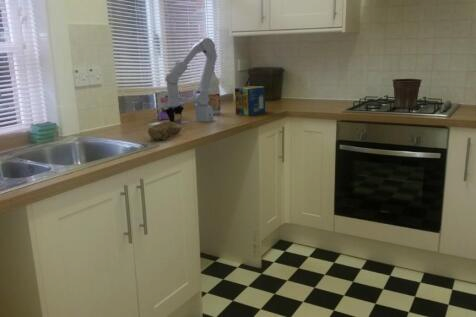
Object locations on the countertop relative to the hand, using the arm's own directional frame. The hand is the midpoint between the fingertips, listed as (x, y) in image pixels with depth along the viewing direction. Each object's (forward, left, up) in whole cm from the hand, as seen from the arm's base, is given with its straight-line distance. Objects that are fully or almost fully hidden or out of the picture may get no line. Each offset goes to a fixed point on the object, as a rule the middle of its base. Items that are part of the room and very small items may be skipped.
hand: (175, 121), depth 239 cm
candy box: (+15, -12, -2) cm, 19 cm away
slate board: (+2, +3, -2) cm, 4 cm away
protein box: (-19, -46, -2) cm, 50 cm away
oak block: (0, 0, -1) cm, 1 cm away
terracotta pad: (+7, -1, -1) cm, 7 cm away
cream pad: (+7, +7, -1) cm, 10 cm away
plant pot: (-96, -95, -2) cm, 135 cm away
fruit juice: (+3, -38, -2) cm, 38 cm away
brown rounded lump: (-19, +30, -2) cm, 35 cm away
